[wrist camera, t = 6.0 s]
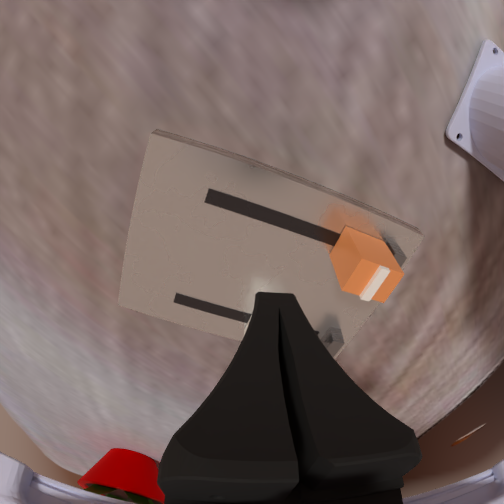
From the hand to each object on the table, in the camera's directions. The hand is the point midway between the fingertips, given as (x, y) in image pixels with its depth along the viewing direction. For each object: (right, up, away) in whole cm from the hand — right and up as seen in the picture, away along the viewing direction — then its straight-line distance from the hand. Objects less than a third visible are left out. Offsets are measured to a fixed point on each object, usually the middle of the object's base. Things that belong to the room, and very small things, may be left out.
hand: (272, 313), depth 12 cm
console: (0, +1, +10) cm, 10 cm away
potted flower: (-21, -33, +32) cm, 50 cm away
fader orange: (+6, +2, +8) cm, 10 cm away
